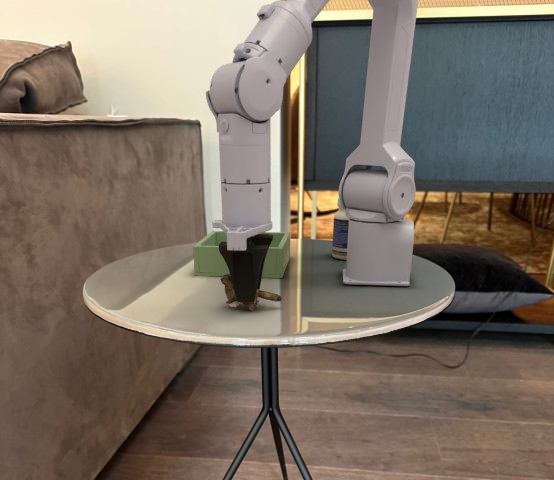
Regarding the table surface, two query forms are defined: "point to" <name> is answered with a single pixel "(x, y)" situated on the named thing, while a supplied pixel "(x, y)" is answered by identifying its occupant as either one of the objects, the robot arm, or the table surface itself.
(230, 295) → the cat figurine
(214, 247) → the basket
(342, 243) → the pill bottle
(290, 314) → the table surface
